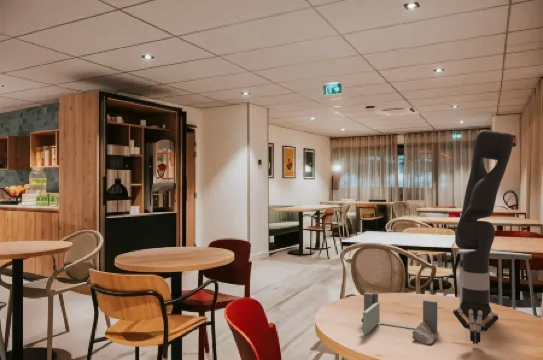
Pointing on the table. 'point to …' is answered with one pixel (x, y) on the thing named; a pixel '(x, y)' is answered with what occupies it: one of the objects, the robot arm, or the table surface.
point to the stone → (423, 334)
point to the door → (371, 317)
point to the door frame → (428, 317)
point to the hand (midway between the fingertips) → (475, 343)
